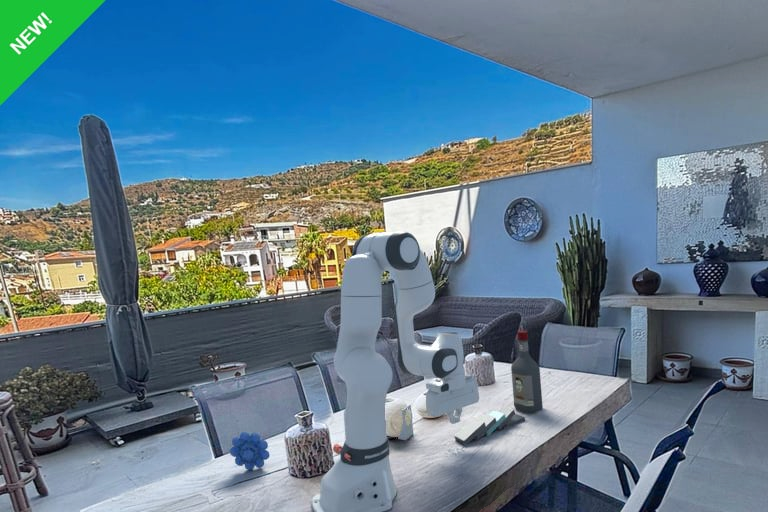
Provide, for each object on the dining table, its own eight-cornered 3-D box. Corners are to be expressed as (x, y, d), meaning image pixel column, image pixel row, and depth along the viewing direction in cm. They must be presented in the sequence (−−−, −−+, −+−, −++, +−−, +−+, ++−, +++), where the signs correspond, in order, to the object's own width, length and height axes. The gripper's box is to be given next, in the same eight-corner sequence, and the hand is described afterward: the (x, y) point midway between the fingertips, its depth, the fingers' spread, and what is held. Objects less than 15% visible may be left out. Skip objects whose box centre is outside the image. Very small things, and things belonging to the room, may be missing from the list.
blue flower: (228, 480, 121) (225, 440, 121) (232, 469, 128) (230, 430, 128) (268, 473, 123) (266, 434, 123) (271, 463, 130) (268, 425, 130)
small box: (413, 434, 143) (411, 404, 143) (405, 441, 139) (403, 410, 139) (394, 430, 148) (392, 401, 148) (386, 436, 143) (383, 406, 143)
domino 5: (506, 425, 143) (524, 417, 148) (495, 420, 147) (513, 413, 152) (506, 430, 143) (525, 421, 148) (495, 425, 147) (514, 418, 152)
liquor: (525, 402, 165) (519, 328, 165) (545, 408, 157) (539, 330, 158) (511, 409, 159) (505, 332, 160) (531, 415, 152) (525, 334, 152)
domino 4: (498, 426, 141) (513, 409, 146) (486, 422, 144) (502, 406, 150) (499, 430, 141) (515, 413, 147) (488, 426, 145) (503, 410, 151)
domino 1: (464, 440, 132) (484, 422, 137) (453, 435, 136) (473, 417, 141) (465, 445, 132) (486, 426, 137) (455, 439, 136) (475, 422, 141)
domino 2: (476, 435, 135) (495, 417, 140) (465, 430, 139) (484, 413, 144) (477, 440, 135) (496, 421, 140) (467, 435, 139) (485, 417, 144)
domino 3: (486, 431, 137) (504, 413, 142) (475, 427, 141) (493, 410, 147) (488, 436, 138) (505, 418, 143) (477, 431, 142) (494, 414, 147)
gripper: (468, 371, 142) (471, 411, 142) (421, 385, 131) (424, 428, 131) (481, 375, 136) (484, 416, 136) (434, 389, 126) (437, 434, 125)
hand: (455, 422), depth 133 cm, fingers closed
